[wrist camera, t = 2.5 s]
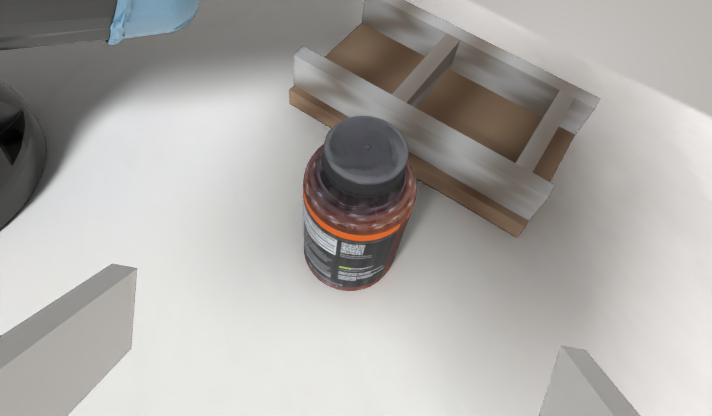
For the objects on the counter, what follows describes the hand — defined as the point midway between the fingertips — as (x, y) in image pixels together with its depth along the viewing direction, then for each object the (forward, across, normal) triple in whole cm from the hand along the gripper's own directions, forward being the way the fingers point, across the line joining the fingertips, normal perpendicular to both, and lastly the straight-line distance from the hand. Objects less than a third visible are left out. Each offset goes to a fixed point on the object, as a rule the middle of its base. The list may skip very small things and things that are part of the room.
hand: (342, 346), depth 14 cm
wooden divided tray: (+26, +5, +6) cm, 27 cm away
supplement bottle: (+17, 0, -3) cm, 17 cm away
